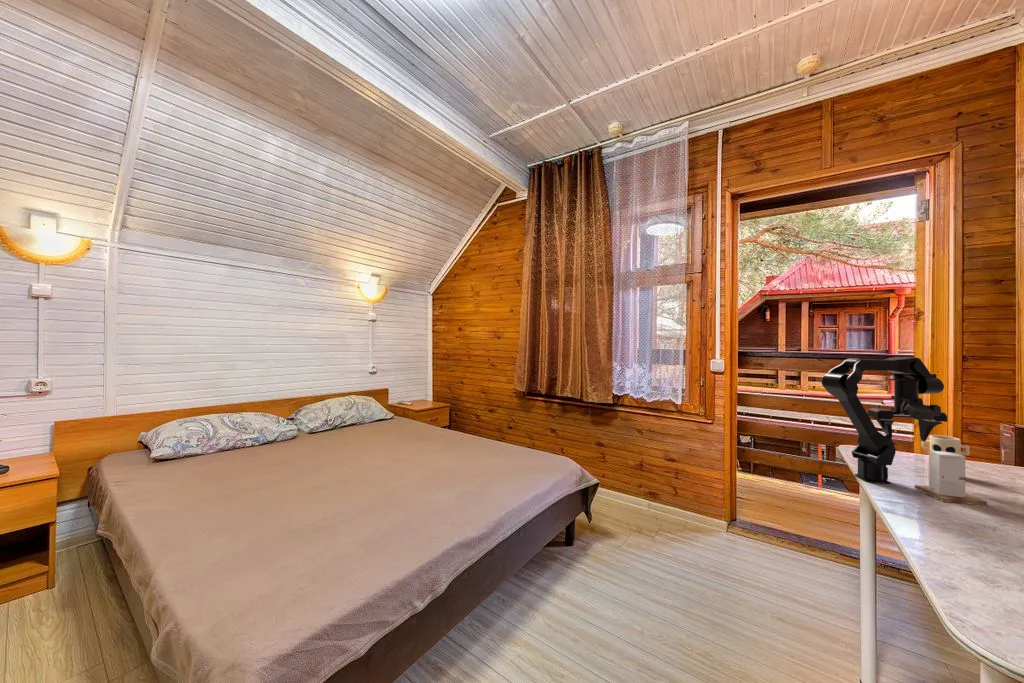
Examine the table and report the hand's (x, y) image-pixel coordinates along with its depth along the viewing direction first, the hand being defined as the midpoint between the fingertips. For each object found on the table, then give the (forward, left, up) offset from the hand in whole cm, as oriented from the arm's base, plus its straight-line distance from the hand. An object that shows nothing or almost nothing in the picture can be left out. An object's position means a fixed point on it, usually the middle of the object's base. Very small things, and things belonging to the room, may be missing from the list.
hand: (906, 440), depth 125 cm
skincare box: (0, -15, -12) cm, 20 cm away
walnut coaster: (+1, -14, -13) cm, 20 cm away
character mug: (+16, +8, -13) cm, 22 cm away
